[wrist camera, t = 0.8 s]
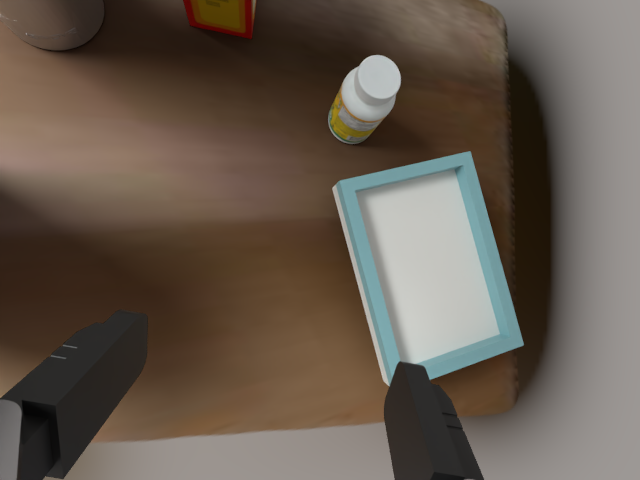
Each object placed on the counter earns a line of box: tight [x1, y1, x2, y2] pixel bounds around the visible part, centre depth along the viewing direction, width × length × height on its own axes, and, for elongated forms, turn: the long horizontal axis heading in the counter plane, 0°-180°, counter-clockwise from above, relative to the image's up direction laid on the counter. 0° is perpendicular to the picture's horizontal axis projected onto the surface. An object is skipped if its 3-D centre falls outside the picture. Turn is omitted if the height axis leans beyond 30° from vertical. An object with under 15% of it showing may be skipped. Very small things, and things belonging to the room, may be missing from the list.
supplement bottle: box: [328, 55, 401, 144], centre depth 34 cm, size 5×5×10 cm
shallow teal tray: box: [332, 151, 524, 386], centre depth 36 cm, size 20×14×6 cm
